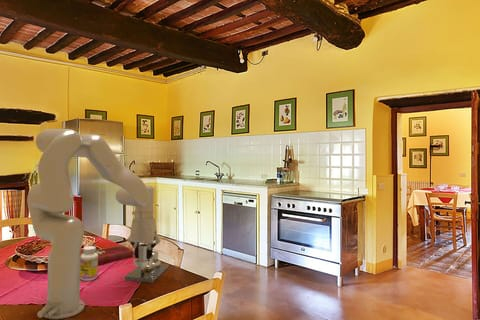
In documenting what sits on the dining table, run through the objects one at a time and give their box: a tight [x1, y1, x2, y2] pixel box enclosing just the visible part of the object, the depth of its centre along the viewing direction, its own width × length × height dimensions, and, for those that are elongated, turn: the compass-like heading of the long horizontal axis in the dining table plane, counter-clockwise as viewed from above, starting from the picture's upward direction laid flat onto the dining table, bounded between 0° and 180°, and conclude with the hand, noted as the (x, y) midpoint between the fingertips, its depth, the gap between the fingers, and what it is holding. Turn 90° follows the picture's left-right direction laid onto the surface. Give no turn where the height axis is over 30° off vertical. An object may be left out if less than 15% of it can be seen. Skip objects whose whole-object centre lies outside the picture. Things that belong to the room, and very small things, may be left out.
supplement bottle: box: [80, 245, 99, 282], centre depth 139 cm, size 7×7×13 cm
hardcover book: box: [81, 244, 135, 266], centre depth 165 cm, size 12×21×4 cm, turn 136°
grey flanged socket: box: [133, 243, 153, 268], centre depth 142 cm, size 8×8×8 cm
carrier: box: [124, 250, 170, 284], centre depth 147 cm, size 19×12×8 cm, turn 172°
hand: (143, 257), depth 142 cm, fingers closed on grey flanged socket, 4 cm apart
